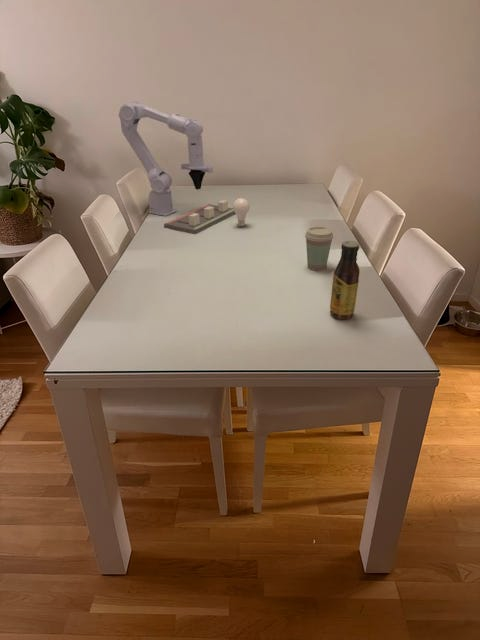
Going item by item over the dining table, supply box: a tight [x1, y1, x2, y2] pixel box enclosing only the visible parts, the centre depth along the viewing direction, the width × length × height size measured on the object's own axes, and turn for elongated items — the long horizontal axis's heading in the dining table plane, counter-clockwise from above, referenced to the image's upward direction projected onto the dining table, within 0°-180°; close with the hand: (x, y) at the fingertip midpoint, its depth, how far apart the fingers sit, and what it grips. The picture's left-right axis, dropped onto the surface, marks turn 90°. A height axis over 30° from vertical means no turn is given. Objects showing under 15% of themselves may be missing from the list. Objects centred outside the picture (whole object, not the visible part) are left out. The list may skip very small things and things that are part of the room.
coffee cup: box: [304, 226, 334, 272], centre depth 144 cm, size 8×8×12 cm
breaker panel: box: [163, 203, 236, 235], centre depth 188 cm, size 15×30×2 cm, turn 148°
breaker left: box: [217, 199, 229, 212], centre depth 193 cm, size 2×4×4 cm
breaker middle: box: [204, 206, 214, 219], centre depth 185 cm, size 2×4×4 cm
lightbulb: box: [232, 197, 250, 228], centre depth 178 cm, size 6×6×11 cm
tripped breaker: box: [189, 213, 200, 226], centre depth 178 cm, size 2×4×4 cm
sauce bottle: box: [329, 240, 361, 320], centre depth 115 cm, size 6×6×20 cm
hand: (198, 188), depth 191 cm, fingers closed
